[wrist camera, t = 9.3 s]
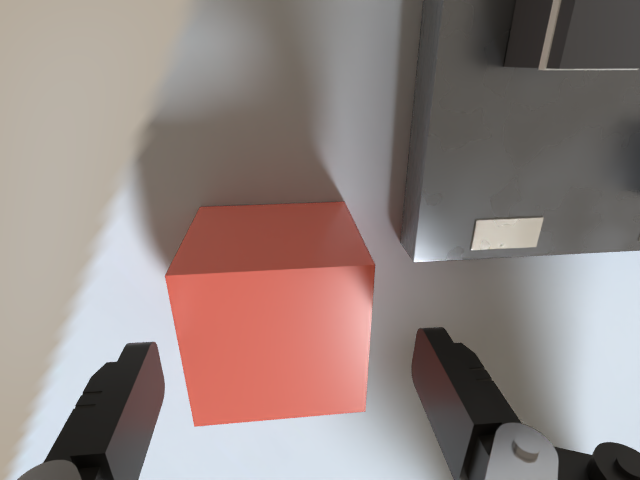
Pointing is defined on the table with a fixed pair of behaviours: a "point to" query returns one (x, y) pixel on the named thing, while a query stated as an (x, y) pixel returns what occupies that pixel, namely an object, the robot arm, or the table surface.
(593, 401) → the table surface
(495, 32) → the breaker panel
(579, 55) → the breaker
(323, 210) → the red cube
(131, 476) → the robot arm
